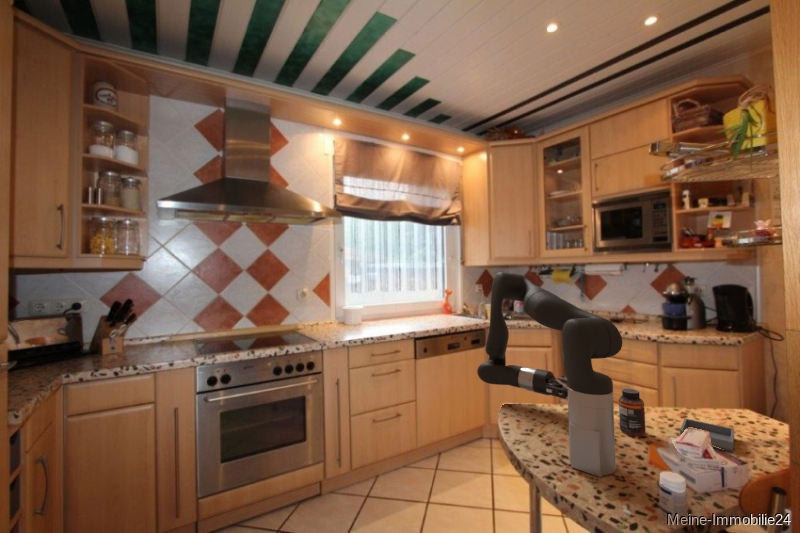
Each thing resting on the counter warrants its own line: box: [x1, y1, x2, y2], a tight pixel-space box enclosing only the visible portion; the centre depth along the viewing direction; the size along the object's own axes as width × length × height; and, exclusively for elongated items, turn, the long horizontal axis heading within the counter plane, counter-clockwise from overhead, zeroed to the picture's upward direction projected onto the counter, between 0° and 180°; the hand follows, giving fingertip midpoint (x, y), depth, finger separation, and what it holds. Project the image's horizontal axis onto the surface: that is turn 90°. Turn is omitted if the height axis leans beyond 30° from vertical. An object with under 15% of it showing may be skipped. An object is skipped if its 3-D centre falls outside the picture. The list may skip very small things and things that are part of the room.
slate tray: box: [679, 418, 735, 453], centre depth 92 cm, size 10×10×2 cm
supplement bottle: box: [618, 388, 647, 437], centre depth 96 cm, size 6×6×11 cm
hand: (590, 392), depth 104 cm, fingers open, 8 cm apart
